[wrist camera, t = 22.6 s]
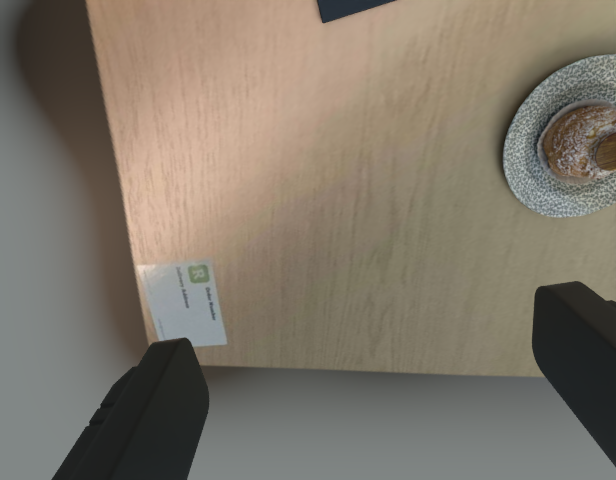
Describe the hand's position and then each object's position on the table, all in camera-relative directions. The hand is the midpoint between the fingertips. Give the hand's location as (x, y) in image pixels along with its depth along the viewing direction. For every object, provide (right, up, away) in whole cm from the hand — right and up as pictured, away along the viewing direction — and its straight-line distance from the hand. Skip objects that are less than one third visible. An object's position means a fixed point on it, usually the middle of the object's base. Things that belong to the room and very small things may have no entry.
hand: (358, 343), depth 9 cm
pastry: (+20, +10, +21) cm, 30 cm away
